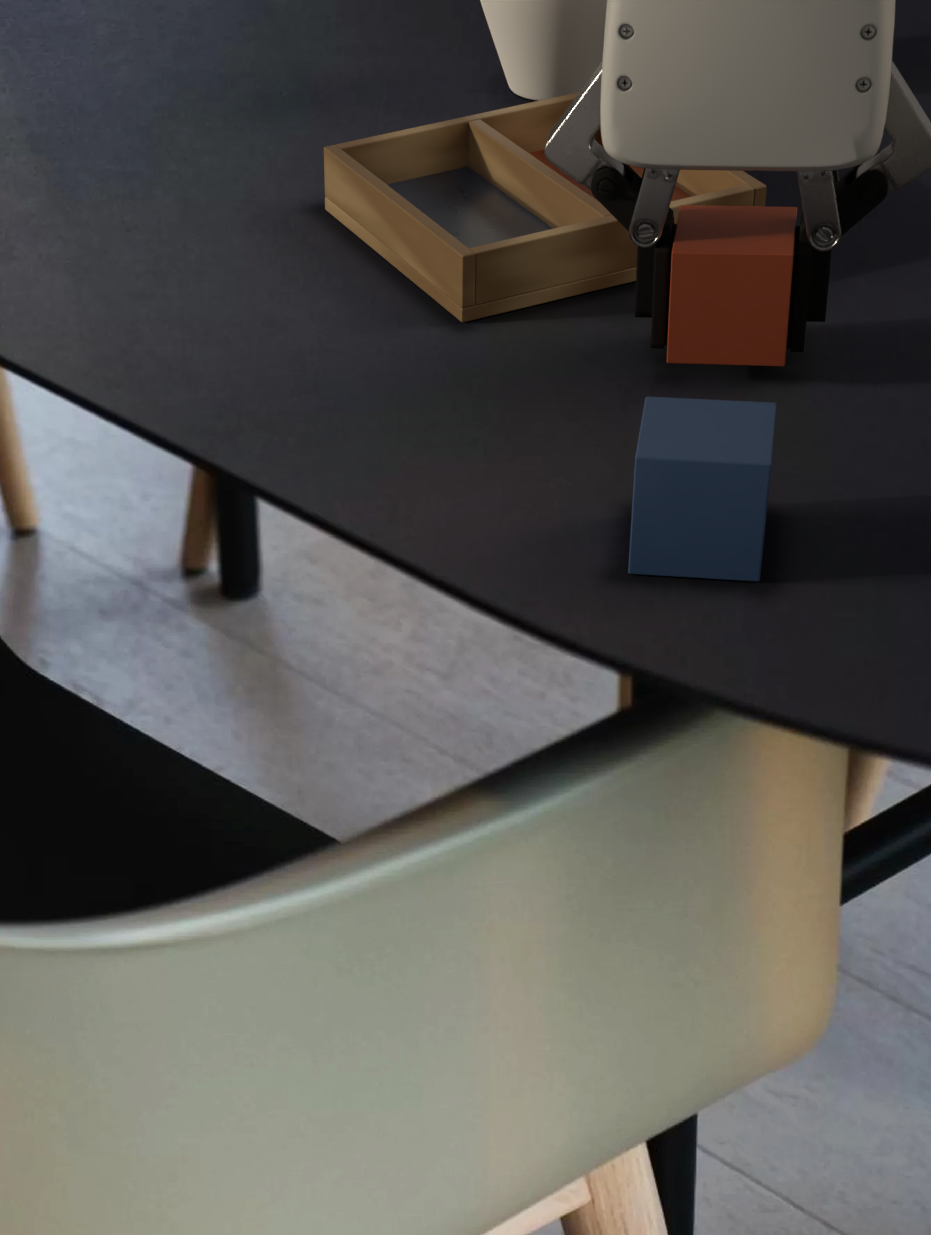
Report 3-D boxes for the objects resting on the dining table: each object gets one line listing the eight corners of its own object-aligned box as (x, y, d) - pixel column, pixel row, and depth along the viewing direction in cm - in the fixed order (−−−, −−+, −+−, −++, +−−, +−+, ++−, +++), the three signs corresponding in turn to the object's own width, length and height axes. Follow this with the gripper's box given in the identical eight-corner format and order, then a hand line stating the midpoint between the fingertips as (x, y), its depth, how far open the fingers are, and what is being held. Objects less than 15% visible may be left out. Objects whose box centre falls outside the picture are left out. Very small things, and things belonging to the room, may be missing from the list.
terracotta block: (666, 363, 95) (671, 252, 92) (674, 313, 98) (679, 204, 95) (784, 367, 94) (793, 254, 91) (788, 316, 97) (797, 206, 94)
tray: (604, 147, 113) (607, 85, 111) (761, 251, 104) (767, 185, 102) (324, 209, 109) (322, 146, 108) (461, 323, 100) (462, 256, 98)
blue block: (627, 574, 85) (634, 457, 82) (638, 510, 88) (645, 395, 85) (759, 582, 84) (771, 464, 81) (765, 518, 87) (776, 402, 84)
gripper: (1017, -209, 85) (954, 299, 97) (523, -202, 89) (520, 289, 100) (1024, -144, 80) (957, 386, 92) (497, -139, 83) (497, 373, 95)
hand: (729, 330), depth 96 cm, fingers closed on terracotta block, 4 cm apart
